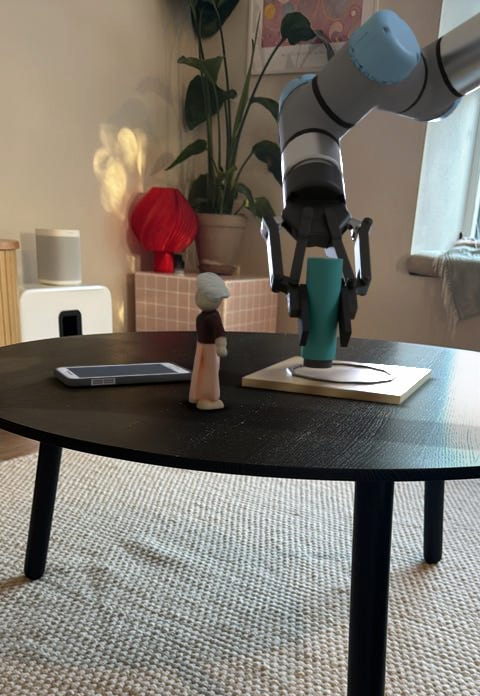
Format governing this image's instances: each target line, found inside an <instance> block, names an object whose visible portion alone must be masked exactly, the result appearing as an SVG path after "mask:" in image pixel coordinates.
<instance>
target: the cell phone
mask: <svg viewBox="0 0 480 696" xmlns="http://www.w3.org/2000/svg"><path fill="white" fill-rule="evenodd" d="M192 372H193V370H190V369H188V368H186V367H183V366H182V365H179V364H177V363H174V362H171V361H157V362H156V361H153V362H134V363H133V362H132V363H110V364H109V363H108V364H88V365H67V366H66V365H65V366H54V367H53V376H54V377H55V378H56V379H58V380H59V381H60V382H62V383H63V384H64V385H66V386H68V387H72V388H73V387H75V388H77V387H78V388H79V387H96V386H115V385H133V384H134V385H135V384H149V383H151V384H152V383H167V382H169V383H170V382H185V381H191V378H192Z"/></svg>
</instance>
